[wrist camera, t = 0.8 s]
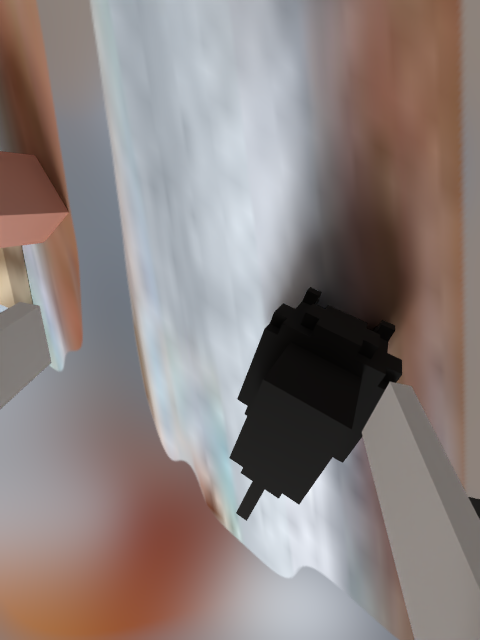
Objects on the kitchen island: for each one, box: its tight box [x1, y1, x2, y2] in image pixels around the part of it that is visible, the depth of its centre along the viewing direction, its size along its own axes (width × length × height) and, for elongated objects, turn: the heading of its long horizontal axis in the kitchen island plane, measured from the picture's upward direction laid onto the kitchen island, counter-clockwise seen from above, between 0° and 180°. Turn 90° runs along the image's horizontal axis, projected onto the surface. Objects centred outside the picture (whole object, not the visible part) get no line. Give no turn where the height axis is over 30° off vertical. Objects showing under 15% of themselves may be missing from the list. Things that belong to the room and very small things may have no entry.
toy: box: [230, 287, 402, 521], centre depth 20 cm, size 8×14×10 cm, turn 162°
